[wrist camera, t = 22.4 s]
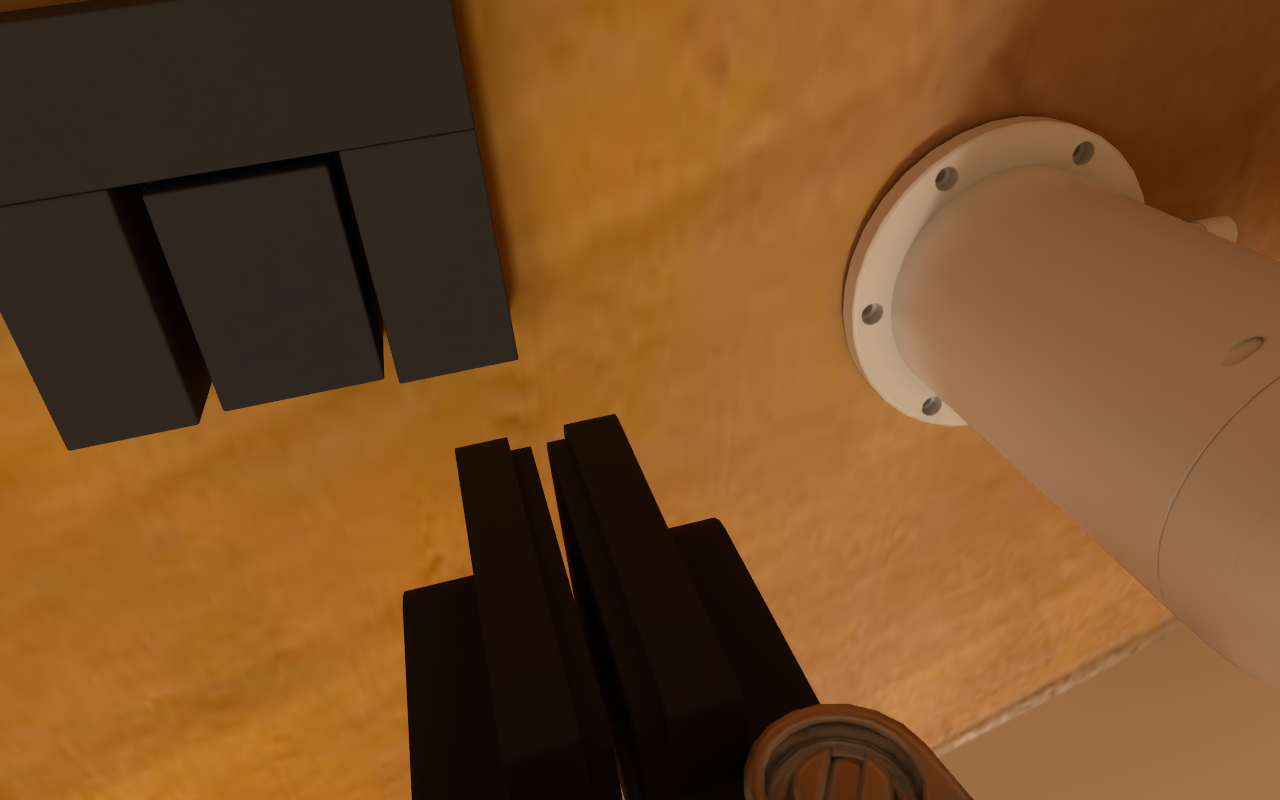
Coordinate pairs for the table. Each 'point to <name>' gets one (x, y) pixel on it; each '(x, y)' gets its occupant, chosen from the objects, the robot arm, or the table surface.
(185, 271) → the loose pad
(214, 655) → the table surface
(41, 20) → the base pad
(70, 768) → the table surface
